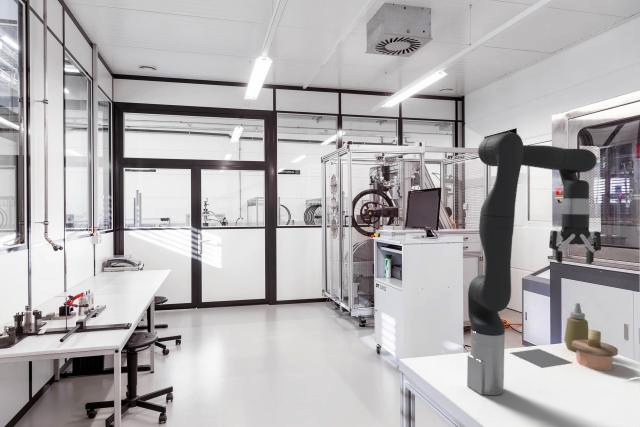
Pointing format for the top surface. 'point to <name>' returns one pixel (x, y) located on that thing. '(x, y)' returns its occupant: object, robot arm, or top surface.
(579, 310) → the squeeze bottle
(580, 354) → the bowl
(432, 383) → the top surface
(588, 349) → the lid
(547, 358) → the mat
